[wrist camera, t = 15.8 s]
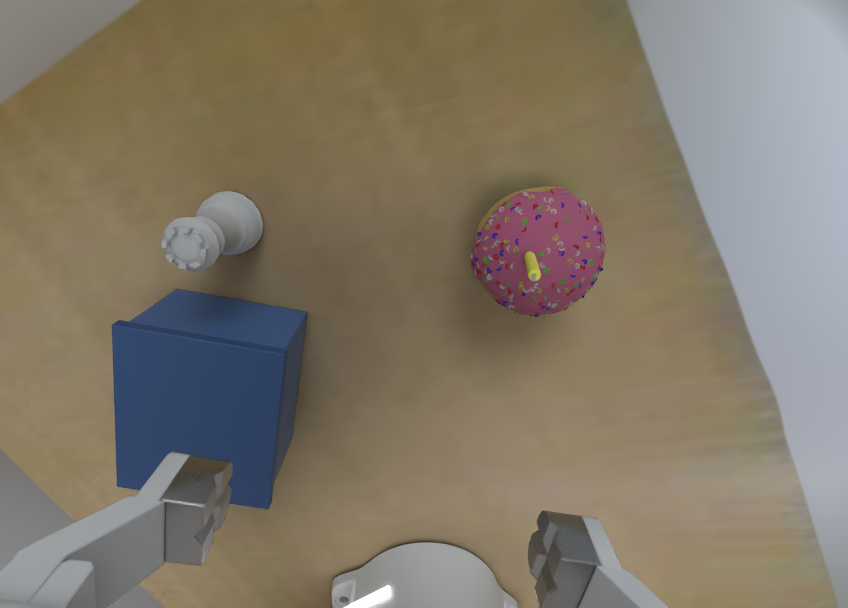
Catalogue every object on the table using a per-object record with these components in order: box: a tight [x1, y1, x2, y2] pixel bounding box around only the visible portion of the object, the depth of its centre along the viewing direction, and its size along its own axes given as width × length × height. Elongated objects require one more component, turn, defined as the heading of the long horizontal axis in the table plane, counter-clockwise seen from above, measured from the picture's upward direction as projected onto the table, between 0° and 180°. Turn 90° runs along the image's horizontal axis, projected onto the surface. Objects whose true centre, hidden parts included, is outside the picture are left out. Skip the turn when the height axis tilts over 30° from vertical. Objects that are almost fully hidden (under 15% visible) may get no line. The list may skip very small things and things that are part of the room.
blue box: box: [112, 289, 307, 509], centre depth 36 cm, size 13×11×8 cm
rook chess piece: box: [161, 191, 263, 271], centre depth 31 cm, size 4×4×8 cm
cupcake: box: [471, 186, 605, 317], centre depth 30 cm, size 9×8×12 cm
